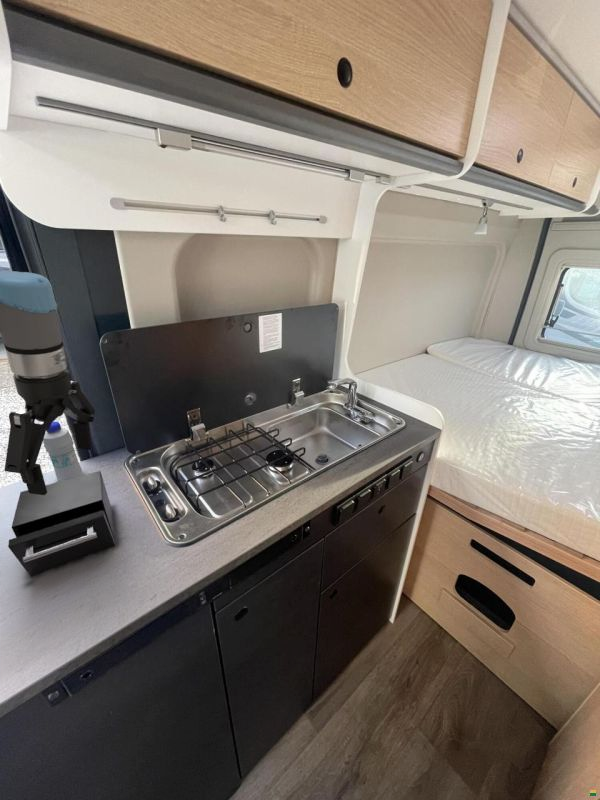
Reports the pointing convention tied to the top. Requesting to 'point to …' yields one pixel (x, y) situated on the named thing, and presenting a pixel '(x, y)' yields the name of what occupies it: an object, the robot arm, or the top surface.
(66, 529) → the oven door
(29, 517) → the oven
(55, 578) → the top surface
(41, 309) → the robot arm
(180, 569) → the top surface
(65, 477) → the bottle
